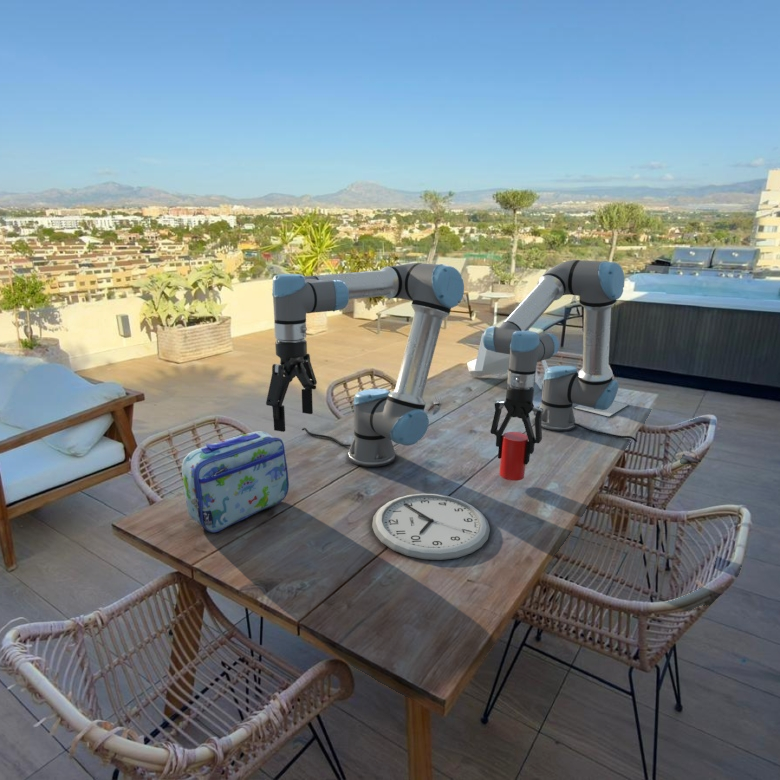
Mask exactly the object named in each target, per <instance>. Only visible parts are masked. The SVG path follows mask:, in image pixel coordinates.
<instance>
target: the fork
mask: <svg viewBox="0 0 780 780" xmlns="http://www.w3.org/2000/svg"><path fill="white" fill-rule="evenodd" d="M441 398H442V396H441V397H440V396H436V397H435V398H434V400H433V404H432V405H431V406H430V407H429V408H428V410H427V411H428V412H430V411H431V410H432V409H433V408H434V407H435V406H436V405H439V404H440V402H441Z"/></svg>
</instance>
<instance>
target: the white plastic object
mask: <svg viewBox="0 0 780 780" xmlns="http://www.w3.org/2000/svg"><path fill="white" fill-rule="evenodd" d="M528 331H530V329H529V330H528ZM483 335H484V332H483V333H481V336H480V337H481V338H480V342H479V346H478V347H479V348H478V351H477V355H476V358H475V359H473V360H470V361H468V362H466V365H467V369H468V373H469V374H470V375H471V376H472V377H473V378H476V377H483V376H491V375H492V376H493V375H498V376H501V375H504V374H507V373H508V370H509V360H510V354H504V353H498V352H494V351H490V350H487V349H486V348H485V347H484V345H483ZM541 364H542V367H543V369H544V372H545V371H546V369H548V368H549V366H548V363H547V359H546V360H542V361H541ZM535 384H536V385H537V386H538V388H539V389H540V390H543V385H542V382H541V380H540V377H539V374H538V371H537V369H536V375H535Z"/></svg>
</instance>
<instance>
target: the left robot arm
mask: <svg viewBox="0 0 780 780" xmlns="http://www.w3.org/2000/svg"><path fill="white" fill-rule="evenodd" d="M464 293H465V283H464V279H463V277H462V274H461V272H460V271H459V270H458V269H457V268H456V267H454V266H450V265H446V264H438V263H437V264H436V263H423V262H411V263H403V264H398V265H397V264H396V265H391V266H390V265H389V266H384V267H382V268H381V269H380V270H368V271H358V272H345V273H344V272H343V273H330V274H316V275H305V276H304V274H300V273H281V274H279V273H278V274H276V275H274V276H273V277H272V292H271V295H272V302H273V303H272V305H273V318H274V321H273V322H274V323H273V326H274V328H273V329H274V338H275V339H276V341H275V343H274V345H275V355H276V356H277V357H278V358H279V359H280V362H279V364H276V363H272V366H271V378H270V383H269V388H268V391H267V396H266V401H265V405H266V406H267V407H268V406H269V407H270V406H271V407H272V418H273V431H276V432H281V433H285V432H286V416H285V415H286V414H285V405H284V404H283V403H284V400H285V397H286V394H287V392H288V388H289V386H290V383H291V382H292V381H293V380H294V379H295V378H297V380H298V381H299V383H300V385H301V386H302V387H303V388H301V411H302V414H308V415H313V414H314V413H313V411H314V409H313V390H316V389H317V383H318V382H317V378H316V375H315V372H314V369H313V366H312V363H311V362H312V361H311V355H310V353H308V341H307V340H306V338H307V330H308V328H307V314H313V313H314V314H315V313H325V312H336V311H341V310H344V309H346V307H348V304H349V301H350V300H359V299H368V298H369V299H370V298H375V297H377V298H378V297H383V298H385V299H388V300H389V299H399V300H400V299H402V300H406V301H411V308H412V309H413V311H414V313H413V317H412V322H411V326H410V330H409V333H408V337H407V340H406V345H405V348H404V352H403V356H402V357H403V358H402V360H401V364H400V368H399V371H398V375H397V380H396V383H395V386H394V389H393V390H392V391H390V390H389V389H387V388H369V389H363V390H360V391H358V392H356V393H355V394H354V398H353V434H354V435H353V439H352V441H351V443H350V444H348V443H347V444H346V443H343V442H340V440H338V439H336V438H334V437H332V436H329V435H324V434H317V433H313V432H310V431H309V430H308V429H307V428H306V427H302V428H301V431H305V432H306V434H308V435H310V436H312V437H313V436H314V437H318V438H319V437H320V438H326V439H330V440H332V441H334V442H336V443H337V444H338V445H340V446H342V447H349V449H348V460H349V461H350V462H351V463H352V464H353V465H357V466H359V467H364V468H365V467H366V468H379V467H384V466H387V465H391V464H392V463H393V462H394V461H395V458H396V450H395V447H394V444H393V442H394V443H395V444H400V445H403V446H407V447H409V446H413V445H415V444H416V443H418V442H419V441H420V440H422V438H423V437H424V436H425V434H426V433H427V431H428V428H429V423H430V419H429V416H428V414H427V412H425V407H426V401H425V400H424V398H423V396H424V392H425V388H426V386H427V385H426V384H427V380H428V378H429V373H430V370H431V366H432V361H433V358H434V354H435V350H436V346H437V342H438V340H439V336H440V332H441V329H442V328H441V327H442V324H443V320H444V319H445V318H447V317H449V316H450V314H451V310H452V309H453V308H455V307H457V306H458V305H459V304H460V303H461V302H462V300H463V297H464Z"/></svg>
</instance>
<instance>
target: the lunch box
mask: <svg viewBox="0 0 780 780" xmlns="http://www.w3.org/2000/svg"><path fill="white" fill-rule="evenodd" d="M286 457H287V456H286V451H285V444H284V441H283V440H282V439H281V438H279V437H274V436H273V435H271V434H270V433H268V432H265V431H262V430H259V431H253V432H248V433H244V434H241V435H240V434H239V435H237V436H233V437H230V438H226V439H224V440H220V441H217V442H214V443H207V444H206V445H204V446H202V447H199V448H196V449H193V450H191V451H190V452H189V453H188V454H187V455H186V456H185V457H184V458H183V460H182V464H181V477H182V483H183V492H184V498H185V503H186V508H187V513H188V515H189V517H190V519H192V520H194V521H195V522H197V523H198V524H199V525H201V527H202V528H203V529H204V530H206V531H208V532H210V533H218V532H222V530H224V529H226V528H229V527H230V526H232V525H234V524H236V523H239V522H241V521H243V520H246V519H247V518H249V517H251V516H253V515H255V514H257V513H259V512H262V511H263V510H266V509H269V508H272V507H274V506H276V505H278V504H280V503H281V502H282V501H284V499H285V498H286V497H287V495H288V492H289V487H290V483H289V473H288V464H287V458H286Z"/></svg>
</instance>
